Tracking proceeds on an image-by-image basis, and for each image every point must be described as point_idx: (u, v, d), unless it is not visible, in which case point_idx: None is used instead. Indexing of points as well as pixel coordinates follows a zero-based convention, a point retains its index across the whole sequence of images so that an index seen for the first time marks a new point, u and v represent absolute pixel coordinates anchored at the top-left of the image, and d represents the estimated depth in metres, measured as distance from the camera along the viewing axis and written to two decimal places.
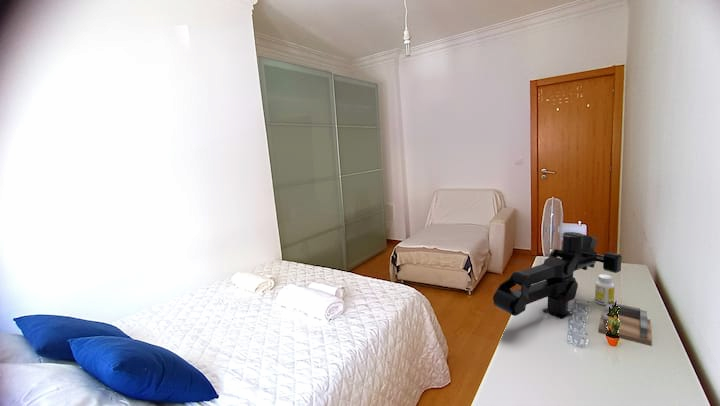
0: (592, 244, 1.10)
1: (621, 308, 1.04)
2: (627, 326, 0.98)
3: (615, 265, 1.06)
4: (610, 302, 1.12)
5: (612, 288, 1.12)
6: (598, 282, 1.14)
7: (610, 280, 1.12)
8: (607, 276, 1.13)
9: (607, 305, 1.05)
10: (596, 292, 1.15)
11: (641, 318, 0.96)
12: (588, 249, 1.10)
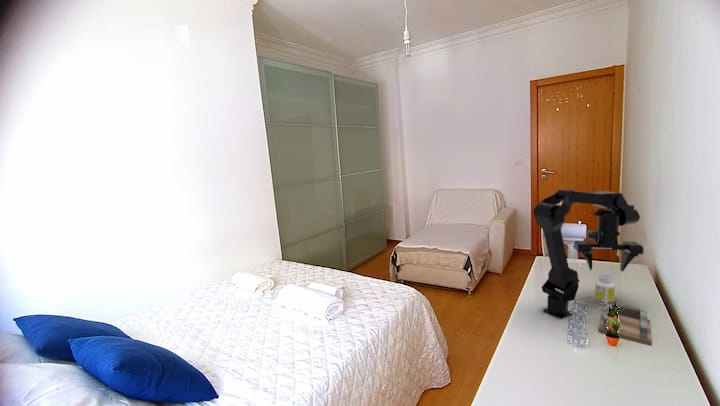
0: None
1: (621, 308, 1.04)
2: (627, 326, 0.98)
3: (639, 244, 1.08)
4: (610, 302, 1.12)
5: (612, 288, 1.12)
6: (598, 282, 1.14)
7: (610, 280, 1.12)
8: (607, 276, 1.13)
9: (607, 305, 1.05)
10: (596, 292, 1.15)
11: (641, 318, 0.96)
12: None
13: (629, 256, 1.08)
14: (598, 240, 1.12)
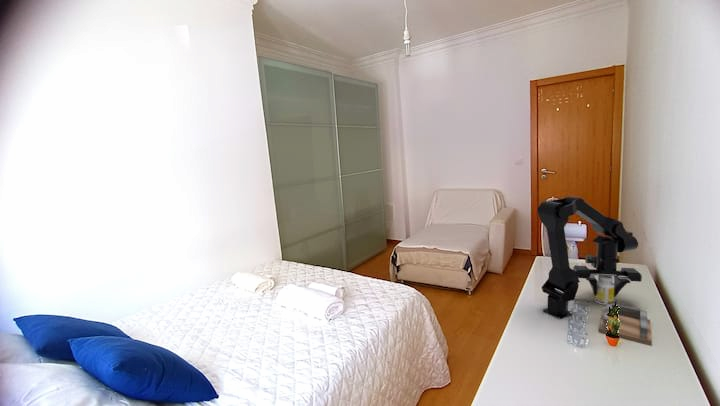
0: None
1: (621, 308, 1.04)
2: (627, 326, 0.98)
3: (637, 271, 1.10)
4: (610, 302, 1.12)
5: (612, 288, 1.12)
6: (598, 282, 1.14)
7: (610, 280, 1.12)
8: (607, 276, 1.13)
9: (607, 305, 1.05)
10: None
11: (641, 318, 0.96)
12: None
13: (621, 283, 1.10)
14: (597, 266, 1.13)
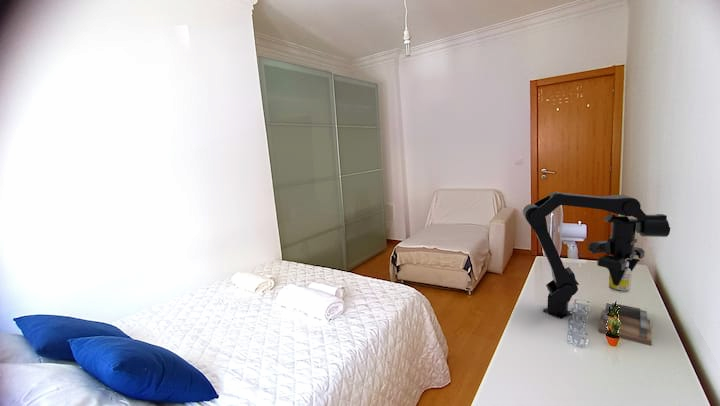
0: None
1: (621, 308, 1.04)
2: (627, 326, 0.98)
3: None
4: None
5: None
6: None
7: None
8: None
9: (607, 305, 1.05)
10: None
11: (641, 318, 0.96)
12: None
13: (636, 263, 1.01)
14: (620, 251, 0.99)
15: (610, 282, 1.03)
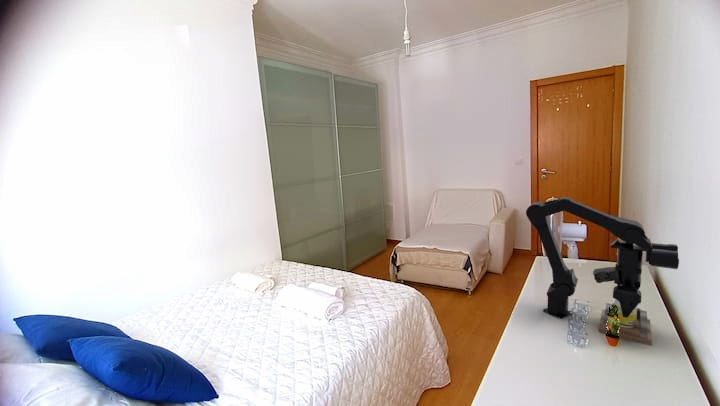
0: None
1: None
2: None
3: None
4: None
5: None
6: None
7: None
8: None
9: (607, 305, 1.05)
10: None
11: (641, 318, 0.96)
12: (611, 267, 1.00)
13: (639, 287, 0.99)
14: (630, 280, 0.94)
15: None
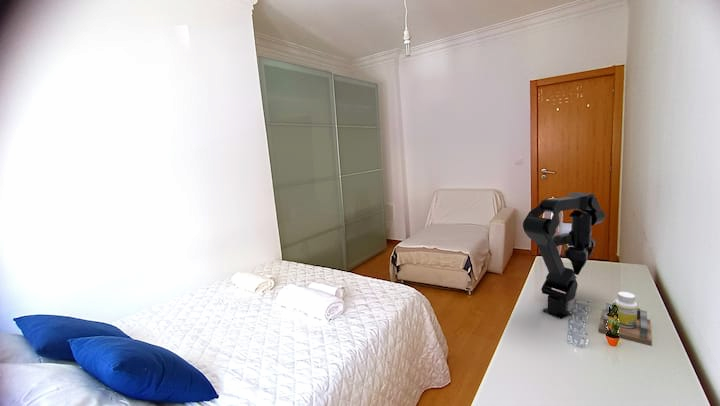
0: None
1: None
2: None
3: None
4: None
5: None
6: (627, 304, 0.96)
7: None
8: (625, 293, 0.98)
9: (607, 305, 1.05)
10: (627, 316, 0.96)
11: (641, 318, 0.96)
12: None
13: (592, 250, 1.15)
14: (580, 242, 1.10)
15: None
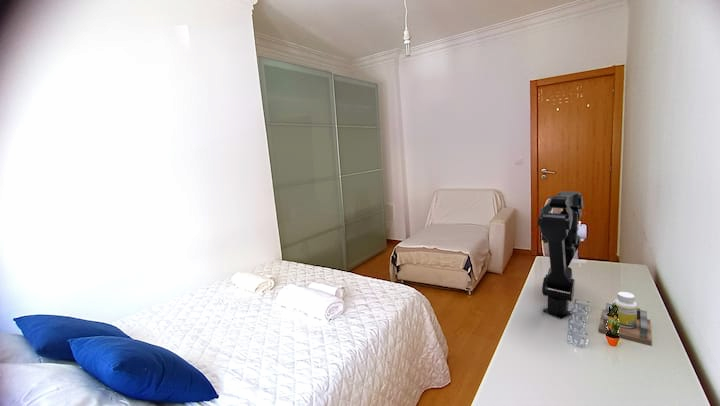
0: None
1: None
2: None
3: None
4: None
5: None
6: (627, 304, 0.96)
7: None
8: (625, 293, 0.98)
9: (607, 305, 1.05)
10: (627, 316, 0.96)
11: (641, 318, 0.96)
12: None
13: (578, 246, 1.21)
14: (568, 239, 1.15)
15: None
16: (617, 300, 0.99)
